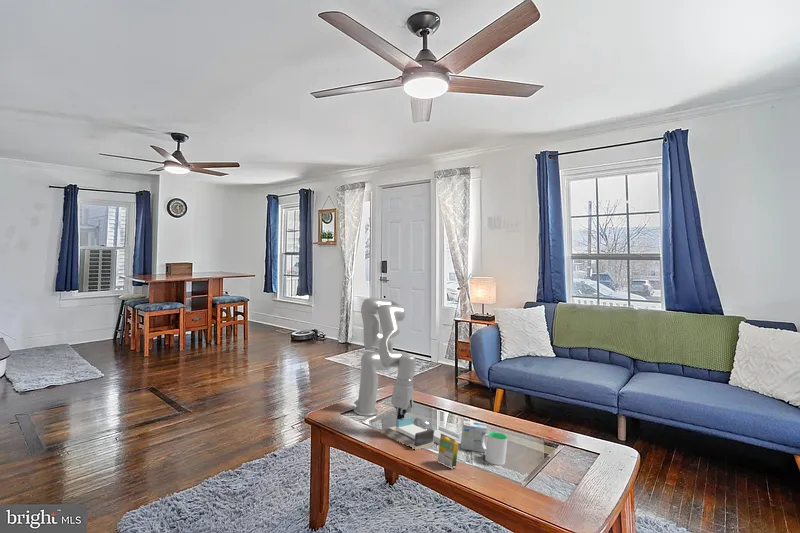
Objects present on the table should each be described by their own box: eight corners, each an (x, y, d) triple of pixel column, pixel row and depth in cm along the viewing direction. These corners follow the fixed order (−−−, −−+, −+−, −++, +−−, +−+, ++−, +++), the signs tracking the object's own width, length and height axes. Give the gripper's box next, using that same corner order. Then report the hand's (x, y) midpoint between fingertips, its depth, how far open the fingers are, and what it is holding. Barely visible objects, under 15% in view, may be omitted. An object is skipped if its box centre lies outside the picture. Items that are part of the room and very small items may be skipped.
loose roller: (412, 427, 194) (413, 418, 194) (418, 425, 197) (419, 417, 197) (424, 433, 188) (425, 423, 189) (430, 431, 191) (431, 422, 192)
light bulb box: (483, 447, 179) (486, 423, 180) (485, 453, 172) (488, 428, 173) (460, 443, 180) (462, 419, 181) (460, 449, 174) (463, 424, 174)
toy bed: (394, 434, 177) (396, 419, 177) (409, 430, 184) (411, 416, 184) (414, 444, 168) (416, 428, 169) (428, 439, 175) (430, 425, 175)
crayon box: (456, 468, 154) (459, 438, 154) (451, 470, 152) (454, 439, 152) (442, 461, 159) (445, 431, 160) (437, 462, 157) (440, 433, 158)
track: (380, 432, 182) (382, 418, 182) (398, 428, 190) (400, 414, 190) (415, 450, 166) (417, 434, 166) (433, 445, 174) (435, 430, 175)
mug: (474, 454, 170) (476, 429, 170) (486, 451, 174) (489, 427, 175) (496, 466, 160) (499, 440, 160) (508, 463, 165) (511, 437, 165)
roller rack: (421, 435, 184) (422, 430, 184) (440, 430, 193) (440, 425, 193) (441, 445, 175) (442, 439, 175) (459, 439, 185) (460, 434, 185)
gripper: (388, 378, 185) (383, 418, 184) (410, 387, 175) (406, 429, 174) (399, 377, 191) (394, 416, 190) (422, 385, 180) (417, 426, 179)
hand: (400, 422), depth 182 cm, fingers closed
